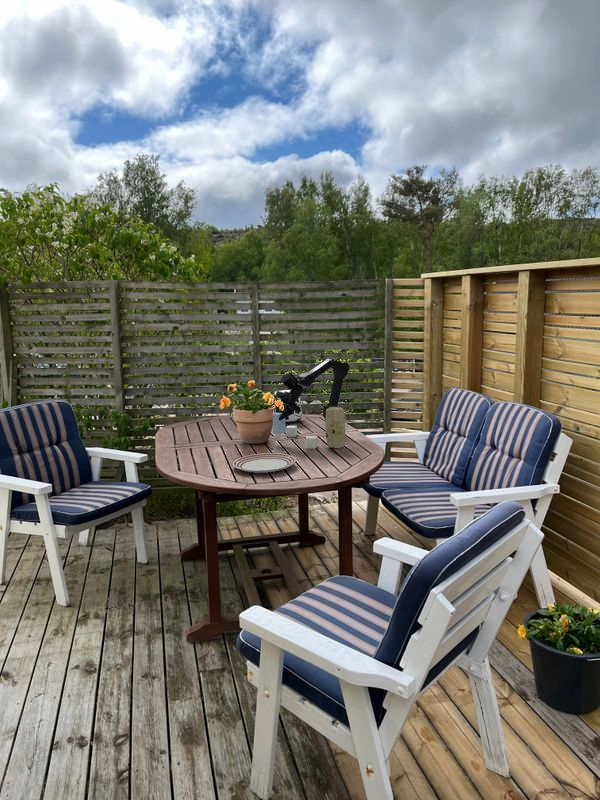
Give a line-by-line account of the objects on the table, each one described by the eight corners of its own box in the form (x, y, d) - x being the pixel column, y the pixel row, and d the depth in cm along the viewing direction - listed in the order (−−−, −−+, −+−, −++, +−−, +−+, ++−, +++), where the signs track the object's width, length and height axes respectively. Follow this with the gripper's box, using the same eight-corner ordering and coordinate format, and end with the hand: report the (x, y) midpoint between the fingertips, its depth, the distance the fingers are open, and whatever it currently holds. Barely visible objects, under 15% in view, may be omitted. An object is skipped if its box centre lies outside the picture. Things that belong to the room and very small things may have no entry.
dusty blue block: (280, 431, 298) (280, 412, 297) (285, 432, 295) (285, 413, 293) (273, 432, 296) (272, 413, 294) (278, 434, 292) (277, 414, 290)
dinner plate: (239, 479, 238) (238, 472, 238) (228, 463, 264) (227, 455, 264) (303, 473, 246) (303, 465, 245) (286, 457, 272) (286, 450, 271)
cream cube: (317, 446, 291) (317, 436, 290) (315, 448, 286) (315, 438, 285) (307, 445, 292) (307, 436, 291) (305, 448, 287) (305, 438, 286)
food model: (344, 445, 290) (343, 405, 287) (346, 448, 284) (346, 408, 281) (324, 446, 289) (324, 406, 286) (327, 449, 283) (326, 408, 279)
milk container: (304, 423, 345) (303, 393, 342) (275, 425, 343) (274, 394, 340) (300, 418, 362) (299, 389, 359) (272, 419, 360) (271, 390, 357)
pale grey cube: (297, 434, 317) (297, 425, 316) (295, 436, 312) (295, 427, 311) (288, 434, 318) (287, 425, 317) (286, 436, 313) (285, 427, 312)
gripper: (274, 383, 301) (256, 407, 296) (295, 386, 286) (277, 412, 281) (287, 396, 307) (270, 420, 302) (308, 401, 292) (291, 425, 287)
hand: (276, 419), depth 293 cm, fingers closed on dusty blue block, 4 cm apart
